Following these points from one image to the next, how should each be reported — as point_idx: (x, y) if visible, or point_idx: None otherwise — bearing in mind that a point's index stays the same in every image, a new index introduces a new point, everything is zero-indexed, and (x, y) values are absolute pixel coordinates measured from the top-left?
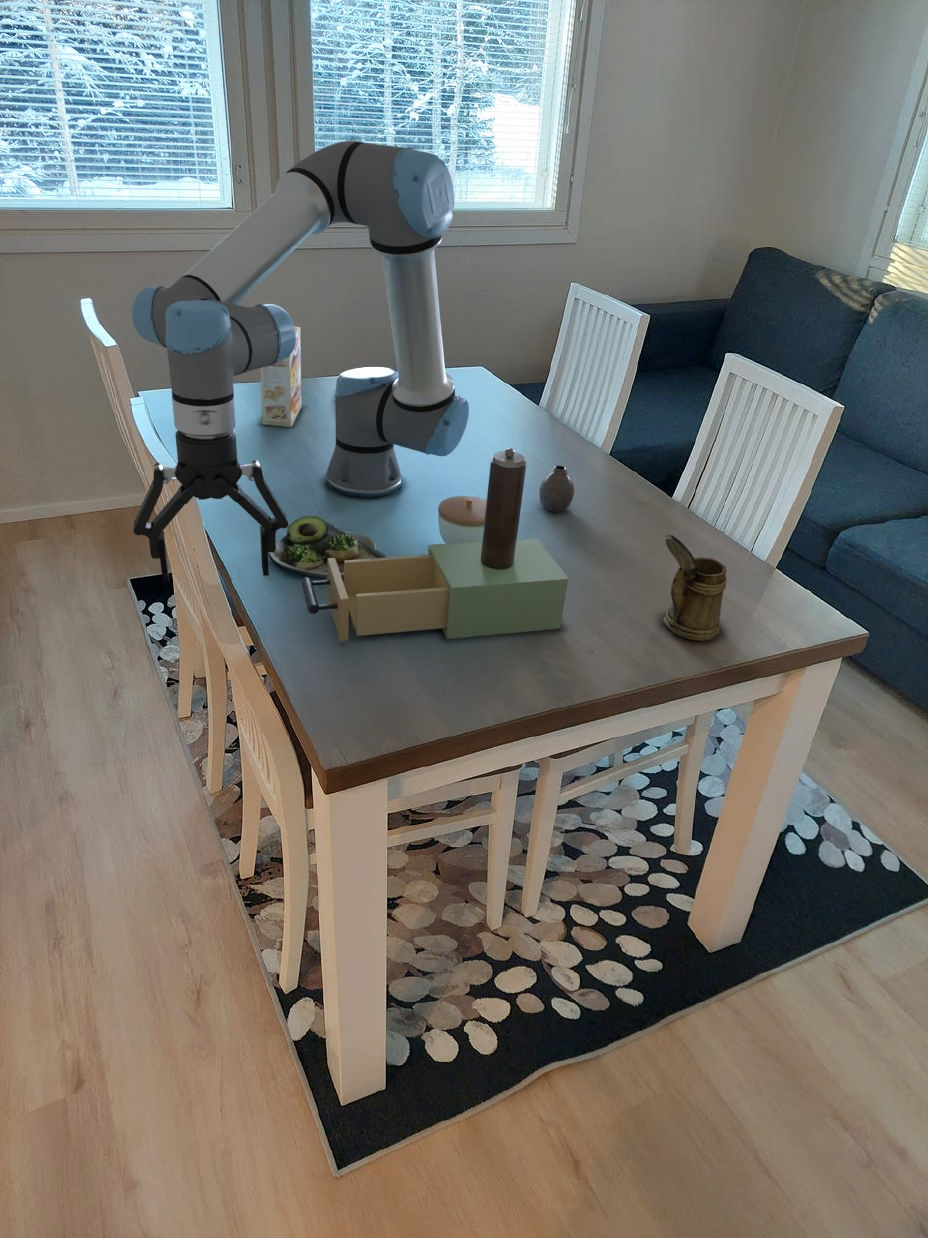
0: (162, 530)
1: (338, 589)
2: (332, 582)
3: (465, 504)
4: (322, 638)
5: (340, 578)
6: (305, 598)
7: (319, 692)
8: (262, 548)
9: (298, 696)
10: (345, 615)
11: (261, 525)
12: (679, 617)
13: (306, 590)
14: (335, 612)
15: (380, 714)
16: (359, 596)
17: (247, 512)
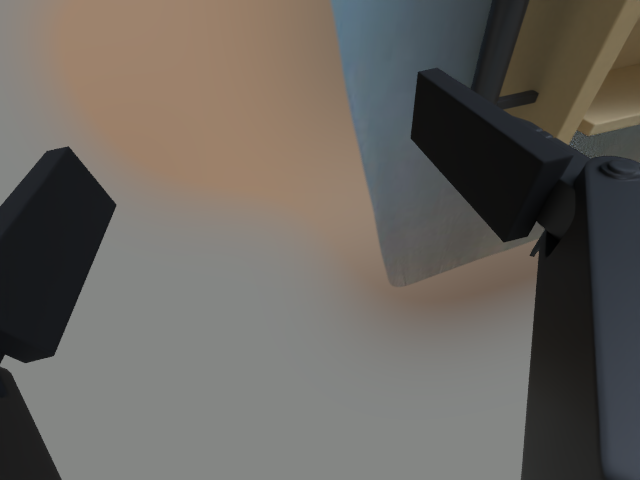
0: (24, 407)
1: (571, 113)
2: (593, 8)
3: None
4: (454, 73)
5: (619, 46)
6: (480, 64)
7: (407, 211)
8: (464, 198)
9: (380, 220)
10: None
11: (539, 275)
12: None
13: (501, 35)
14: (520, 55)
15: (458, 235)
16: (593, 134)
17: (529, 375)
